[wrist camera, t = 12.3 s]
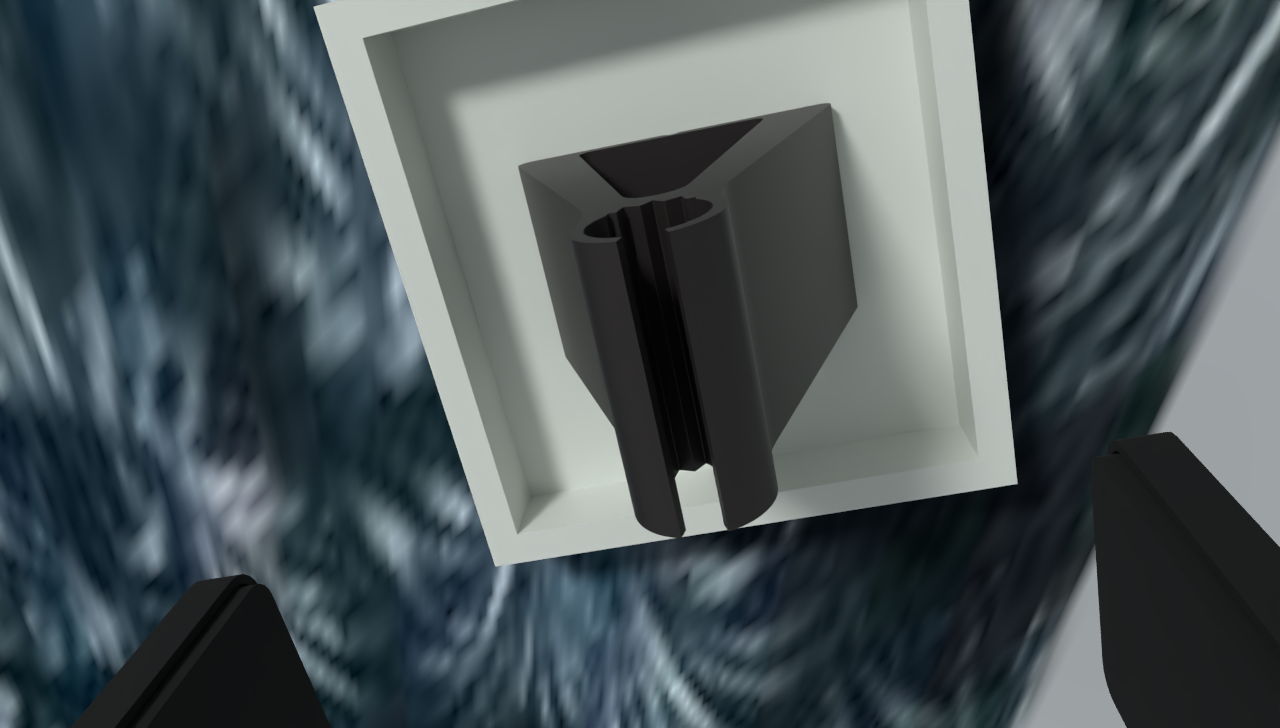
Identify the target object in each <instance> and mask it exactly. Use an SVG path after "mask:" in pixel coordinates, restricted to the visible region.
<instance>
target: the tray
mask: <svg viewBox="0 0 1280 728" xmlns="http://www.w3.org/2000/svg"><path fill="white" fill-rule="evenodd" d="M314 10H315V13H316V16H317V19H318V22H319V25H320V28H321V31H322V35H323V38H324V41H325V44H326V47H327V50H328V53H329V56H330V59H331V62H332V65H333V68H334V71H335V74H336V78H337V81H338V84H339V87H340V90H341V93H342V96H343V99H344V102H345V105H346V108H347V111H348V114H349V118H350V121H351V124H352V127H353V130H354V133H355V136H356V139H357V142H358V145H359V148H360V151H361V154H362V158H363V161H364V164H365V167H366V170H367V173H368V176H369V179H370V182H371V185H372V188H373V191H374V194H375V198H376V201H377V204H378V207H379V210H380V213H381V216H382V219H383V222H384V225H385V228H386V231H387V234H388V238H389V241H390V244H391V247H392V250H393V253H394V256H395V259H396V262H397V265H398V268H399V271H400V274H401V278H402V281H403V284H404V287H405V290H406V293H407V296H408V299H409V302H410V305H411V308H412V311H413V314H414V317H415V321H416V324H417V327H418V330H419V333H420V336H421V339H422V342H423V345H424V348H425V351H426V354H427V357H428V361H429V364H430V367H431V370H432V373H433V376H434V379H435V382H436V385H437V388H438V391H439V394H440V397H441V401H442V404H443V407H444V410H445V413H446V416H447V419H448V422H449V425H450V428H451V431H452V434H453V437H454V441H455V444H456V447H457V450H458V453H459V456H460V459H461V462H462V465H463V468H464V471H465V474H466V477H467V481H468V484H469V487H470V490H471V493H472V496H473V499H474V502H475V505H476V508H477V511H478V514H479V517H480V521H481V524H482V527H483V530H484V533H485V536H486V539H487V542H488V545H489V548H490V551H491V554H492V557H493V560H494V564H495V567H496V566H503V565H509V564H515V563H522V562H528V561H534V560H541V559H547V558H553V557H560V556H566V555H572V554H578V553H585V552H591V551H597V550H604V549H610V548H616V547H623V546H629V545H635V544H642V543H648V542H654V541H660V540H667V539H673V538H672V537H666V536H661V535H658V534H655V533H652V532H650V531H648V530H647V529H645V528H644V527H642V526H641V525H640V524H639V523H638V521H637V519H636V517H635V514H634V509H633V505H632V501H631V497H630V492H629V488H628V484H627V480H626V476H625V471H624V467H623V463H622V459H621V455H620V450H619V446H618V442H617V438H616V433H615V429H614V427H613V426H612V424H611V423H610V421H609V420H608V418H607V417H606V416H605V414H604V413H603V411H602V410H601V408H600V407H599V405H598V404H597V402H596V401H595V399H594V398H593V396H592V395H591V394H590V392H589V391H588V389H587V388H586V386H585V385H584V383H583V382H582V380H581V379H580V377H579V376H578V375H577V373H576V372H575V370H574V369H573V367H572V366H571V364H570V363H569V361H568V360H567V358H566V357H565V353H564V349H563V345H562V341H561V337H560V333H559V329H558V325H557V321H556V317H555V313H554V309H553V305H552V301H551V297H550V293H549V289H548V285H547V281H546V277H545V273H544V269H543V265H542V261H541V257H540V253H539V249H538V245H537V241H536V237H535V233H534V229H533V225H532V221H531V217H530V213H529V209H528V205H527V201H526V197H525V193H524V189H523V185H522V181H521V177H520V173H519V169H518V166H519V165H521V164H524V163H528V162H532V161H537V160H542V159H547V158H552V157H557V156H562V155H567V154H572V153H577V152H582V151H587V150H592V149H597V148H602V147H607V146H612V145H617V144H622V143H627V142H632V141H637V140H642V139H647V138H652V137H657V136H662V135H671V134H675V133H678V132H682V131H687V130H692V129H697V128H702V127H707V126H712V125H717V124H722V123H727V122H732V121H737V120H742V119H747V118H752V117H757V116H762V115H767V114H772V113H777V112H782V111H787V110H792V109H797V108H802V107H807V106H812V105H817V104H823V103H831V109H832V117H833V124H834V132H835V139H836V147H837V154H838V162H839V169H840V177H841V184H842V192H843V199H844V207H845V214H846V222H847V229H848V237H849V245H850V252H851V260H852V267H853V275H854V282H855V290H856V297H857V305H858V307H857V309H856V311H855V312H854V314H853V316H852V317H851V319H850V321H849V322H848V324H847V325H846V327H845V329H844V330H843V332H842V334H841V335H840V337H839V339H838V340H837V342H836V344H835V345H834V347H833V349H832V350H831V352H830V354H829V355H828V357H827V359H826V360H825V362H824V364H823V365H822V367H821V369H820V370H819V372H818V373H817V375H816V377H815V378H814V380H813V382H812V383H811V385H810V387H809V388H808V390H807V392H806V393H805V395H804V397H803V398H802V400H801V402H800V403H799V405H798V407H797V408H796V410H795V412H794V413H793V415H792V417H791V418H790V420H789V421H788V423H787V425H786V426H785V428H784V430H783V431H782V433H781V435H780V436H779V438H778V440H777V441H776V443H775V445H774V447H773V449H772V455H773V461H774V467H775V472H776V478H777V484H778V494H777V497H776V500H775V501H774V503H773V504H772V506H771V507H770V508H769V509H768V510H767V511H766V512H765V513H764V514H763V515H761V516H760V517H759V518H757V519H756V520H754V521H752V522H750V523H749V524H747V525H744V526H742V527H749V526H755V525H761V524H768V523H774V522H780V521H787V520H793V519H799V518H806V517H812V516H818V515H824V514H831V513H837V512H843V511H850V510H856V509H862V508H869V507H875V506H881V505H888V504H894V503H900V502H906V501H913V500H919V499H925V498H932V497H938V496H944V495H951V494H957V493H963V492H970V491H976V490H982V489H989V488H995V487H1001V486H1007V485H1014V484H1017V474H1016V464H1015V454H1014V444H1013V434H1012V424H1011V414H1010V405H1009V395H1008V385H1007V375H1006V365H1005V355H1004V345H1003V335H1002V325H1001V315H1000V306H999V296H998V286H997V276H996V266H995V256H994V246H993V236H992V226H991V216H990V207H989V197H988V187H987V177H986V167H985V157H984V147H983V137H982V127H981V117H980V108H979V98H978V88H977V78H976V68H975V58H974V48H973V38H972V28H971V18H970V9H969V0H338V1H334V2H330V3H327V4H323V5H319V6H315V7H314ZM675 481H676V486H677V491H678V495H679V500H680V504H681V509H682V514H683V518H684V523H685V527H686V531H685V533H684V535H683V536H682V537H686V536H692V535H698V534H705V533H711V532H717V531H724V530H727V528H726V527H725V526H724V522H723V517H722V512H721V507H720V502H719V497H718V492H717V487H716V482H715V477H714V472H713V467H712V466H711V465H709V464H705V465H703V466H702V467H701V468H699V469H698V470H697V471H695V472H694V471H685V470H679V472H678V474H677V475H676V477H675ZM742 527H740V528H742Z"/></svg>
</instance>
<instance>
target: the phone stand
mask: <svg viewBox="0 0 1280 728" xmlns="http://www.w3.org/2000/svg"><path fill="white" fill-rule="evenodd" d="M518 169H519V173H520V177H521V181H522V185H523V189H524V193H525V197H526V201H527V205H528V209H529V213H530V217H531V221H532V225H533V229H534V233H535V237H536V241H537V245H538V249H539V253H540V257H541V261H542V265H543V269H544V273H545V277H546V281H547V285H548V289H549V293H550V297H551V301H552V305H553V309H554V313H555V317H556V321H557V325H558V329H559V333H560V337H561V341H562V345H563V349H564V353H565V357H566V358H567V360H568V361H569V363H570V364H571V366H572V367H573V369H574V370H575V372H576V373H577V375H578V376H579V377H580V379H581V380H582V382H583V383H584V385H585V386H586V388H587V389H588V391H589V392H590V394H591V395H592V396H593V398H594V399H595V401H596V402H597V404H598V405H599V407H600V408H601V410H602V411H603V413H604V414H605V416H606V417H607V418H608V420H609V421H610V423H611V424H612V426H613V427H614V429H615V433H616V438H617V442H618V446H619V450H620V455H621V459H622V463H623V467H624V471H625V476H626V480H627V484H628V488H629V492H630V497H631V501H632V505H633V509H634V514H635V517H636V519H637V521H638V523H639V524H640V525H641V526H642V527H644V528H645V529H647V530H648V531H650V532H652V533H655V534H658V535H661V536H666V537H672V538H682V536H683V535H684V533H685V531H686V527H685V523H684V518H683V514H682V509H681V504H680V500H679V495H678V491H677V486H676V481H675V477H676V475H677V474H678V472H679V470H685V471H694V472H695V471H697V470H698V469H699V468H701V467H702V466H703V465H705V464H709V465H711V466H712V467H713V472H714V477H715V482H716V487H717V492H718V497H719V502H720V507H721V512H722V517H723V522H724V526H725V527H726V528H727V530H728V531H732V530H735V529H738V528H740V527H742V526H744V525H747V524H749V523H750V522H752V521H754V520H756V519H757V518H759V517H760V516H761V515H763V514H764V513H765V512H766V511H767V510H768V509H769V508H770V507H771V506H772V504H773V503H774V501H775V500H776V497H777V494H778V484H777V478H776V472H775V467H774V461H773V455H772V449H773V447H774V445H775V443H776V441H777V440H778V438H779V436H780V435H781V433H782V431H783V430H784V428H785V426H786V425H787V423H788V421H789V420H790V418H791V417H792V415H793V413H794V412H795V410H796V408H797V407H798V405H799V403H800V402H801V400H802V398H803V397H804V395H805V393H806V392H807V390H808V388H809V387H810V385H811V383H812V382H813V380H814V378H815V377H816V375H817V373H818V372H819V370H820V369H821V367H822V365H823V364H824V362H825V360H826V359H827V357H828V355H829V354H830V352H831V350H832V349H833V347H834V345H835V344H836V342H837V340H838V339H839V337H840V335H841V334H842V332H843V330H844V329H845V327H846V325H847V324H848V322H849V321H850V319H851V317H852V316H853V314H854V312H855V311H856V309H857V307H858V305H857V297H856V290H855V282H854V275H853V267H852V260H851V252H850V245H849V237H848V229H847V222H846V214H845V207H844V199H843V192H842V184H841V177H840V169H839V162H838V154H837V147H836V139H835V132H834V124H833V117H832V109H831V103H823V104H817V105H812V106H807V107H802V108H797V109H792V110H787V111H782V112H777V113H772V114H767V115H762V116H757V117H752V118H747V119H742V120H737V121H732V122H727V123H722V124H717V125H712V126H707V127H702V128H697V129H692V130H687V131H682V132H678V133H675V134H671V135H662V136H657V137H652V138H647V139H642V140H637V141H632V142H627V143H622V144H617V145H612V146H607V147H602V148H597V149H592V150H587V151H582V152H577V153H572V154H567V155H562V156H557V157H552V158H547V159H542V160H537V161H532V162H528V163H524V164H521V165H519V166H518Z"/></svg>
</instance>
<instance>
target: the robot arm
mask: <svg viewBox="0 0 1280 728" xmlns="http://www.w3.org/2000/svg"><path fill="white" fill-rule="evenodd" d="M1091 484H1092V500H1093V516H1094V531H1095V547H1096V563H1097V579H1098V595H1099V610H1100V626H1101V642H1102V658H1103V666H1104V667H1103V668H1104V673H1105V678H1106V682H1107V686H1108V688H1109V691H1110V694H1111V697H1112V699H1113V701H1114V703H1115V706H1116V708H1117V709H1118V711H1119V713H1120V715H1121V717H1122V719H1123V721H1124V723H1125V725H1126V727H1127V728H1280V547H1279V546H1278V545H1277V544H1276V543H1275V542H1274V541H1273V539H1272V538H1270V536H1269V535H1268V534H1267V533H1266V532H1265V531H1264V530H1263V529H1262V528H1261V527H1260V525H1259V524H1258V523H1257V522H1256V521H1255V520H1254V519H1253V518H1252V517H1251V516H1250V515H1249V514H1248V513H1247V511H1246V510H1245V509H1244V508H1243V507H1242V506H1241V505H1240V504H1239V503H1238V502H1237V501H1236V500H1235V499H1234V497H1233V496H1232V495H1231V494H1230V493H1229V492H1228V491H1227V490H1226V489H1225V488H1224V487H1223V486H1222V485H1221V484H1220V483H1219V481H1218V480H1217V479H1216V478H1215V477H1214V476H1213V475H1212V474H1211V473H1210V472H1209V470H1208V469H1207V468H1206V467H1205V466H1204V465H1203V464H1202V463H1201V462H1200V461H1199V460H1198V459H1197V458H1196V456H1194V454H1193V453H1192V452H1191V451H1190V450H1189V449H1188V448H1187V447H1186V446H1185V445H1184V444H1183V443H1182V441H1181V440H1180V439H1179V438H1178V437H1177V436H1175V435H1174V434H1173V433H1172V432H1164V433H1157V434H1151V435H1144V436H1138V437H1131V438H1125V439H1118V440H1112V441H1111V442H1110V444H1109V447H1108V451H1107V456H1100V457H1094V458H1093V459H1092V462H1091ZM71 728H331V727H330V725H329V722H328V720H327V718H326V716H325V713H324V711H323V709H322V707H321V704H320V702H319V700H318V697H317V695H316V693H315V691H314V688H313V686H312V684H311V682H310V679H309V677H308V675H307V673H306V670H305V668H304V666H303V663H302V661H301V659H300V657H299V654H298V652H297V650H296V648H295V645H294V643H293V641H292V639H291V636H290V634H289V632H288V630H287V627H286V625H285V623H284V620H283V618H282V616H281V614H280V611H279V609H278V607H277V605H276V602H275V600H274V598H273V596H272V594H271V592H270V590H269V589H268V588H267V587H266V586H265V585H262V584H257V583H256V581H255V580H254V579H253V578H251V577H250V576H248V575H244V574H241V575H235V576H228V577H222V578H215V579H209V580H203V581H199V582H196V583H195V584H193V585H192V586H191V587H190V588H189V589H188V590H187V592H186V593H185V594H184V595H183V596H182V597H181V599H180V600H179V601H178V602H177V603H176V604H175V606H174V607H173V608H172V609H171V610H170V612H169V613H168V614H167V615H166V616H165V617H164V619H163V620H162V621H161V622H160V623H159V625H158V626H157V627H156V628H155V629H154V630H153V632H152V633H151V634H150V635H149V636H148V637H147V639H146V640H145V641H144V642H143V643H142V645H141V646H140V647H139V648H138V649H137V650H136V652H135V653H134V654H133V655H132V656H131V657H130V659H129V660H128V661H127V662H126V663H125V665H124V666H123V667H122V668H121V669H120V670H119V672H118V673H117V674H116V675H115V676H114V678H113V679H112V680H111V681H110V682H109V683H108V685H107V686H106V687H105V688H104V689H103V690H102V692H101V693H100V694H99V695H98V696H97V698H96V699H95V700H94V701H93V702H92V703H91V705H90V706H89V707H88V708H87V709H86V711H85V712H84V713H83V714H82V715H81V716H80V718H79V719H78V720H77V721H76V722H75V723H74V725H73V726H72V727H71Z"/></svg>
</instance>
